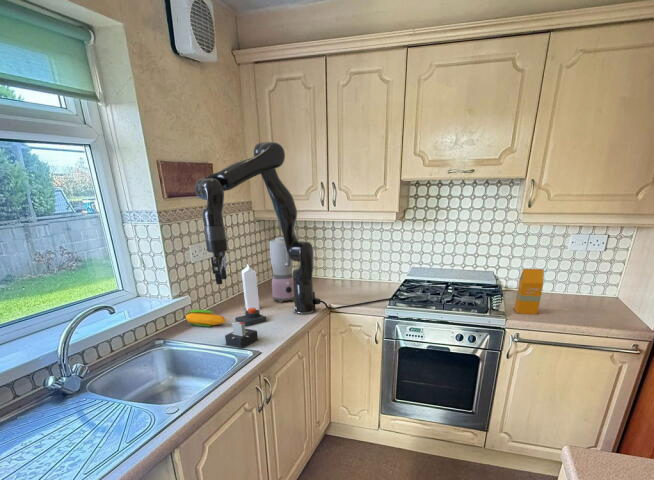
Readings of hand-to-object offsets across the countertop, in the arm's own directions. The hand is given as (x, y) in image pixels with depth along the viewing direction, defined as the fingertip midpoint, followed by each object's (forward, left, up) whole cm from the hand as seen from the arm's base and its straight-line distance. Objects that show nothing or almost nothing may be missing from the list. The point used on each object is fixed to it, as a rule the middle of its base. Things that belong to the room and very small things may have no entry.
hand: (221, 281), depth 157 cm
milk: (-29, -30, -24) cm, 48 cm away
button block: (-18, -13, -24) cm, 32 cm away
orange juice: (-121, +66, -24) cm, 140 cm away
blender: (-50, -31, -24) cm, 63 cm away
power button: (-20, -14, -20) cm, 32 cm away
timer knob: (0, +9, -20) cm, 21 cm away
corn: (-1, -22, -24) cm, 32 cm away
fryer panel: (-2, +7, -24) cm, 25 cm away
